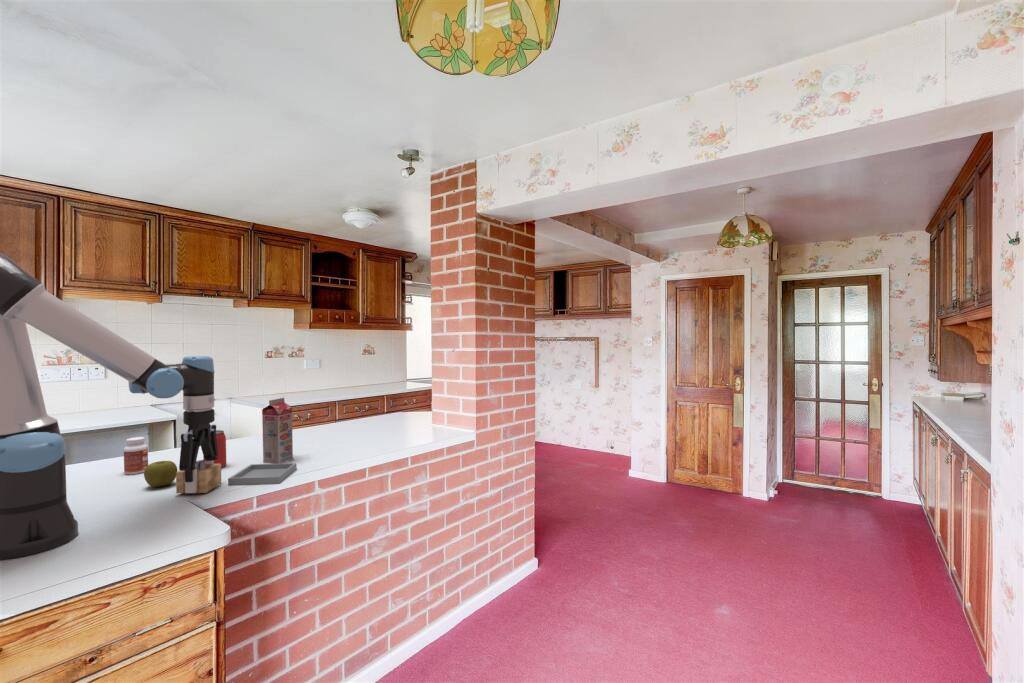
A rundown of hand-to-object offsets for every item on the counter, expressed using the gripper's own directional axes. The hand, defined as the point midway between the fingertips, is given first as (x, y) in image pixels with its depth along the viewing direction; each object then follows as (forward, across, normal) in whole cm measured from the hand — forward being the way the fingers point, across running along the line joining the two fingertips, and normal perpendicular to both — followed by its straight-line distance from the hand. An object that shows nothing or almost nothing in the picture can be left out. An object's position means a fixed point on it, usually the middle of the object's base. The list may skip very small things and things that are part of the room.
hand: (200, 487), depth 136 cm
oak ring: (0, 0, 0) cm, 0 cm away
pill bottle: (+1, +20, +31) cm, 37 cm away
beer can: (+1, +23, +8) cm, 24 cm away
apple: (+1, +5, +14) cm, 15 cm away
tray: (+1, +11, -13) cm, 17 cm away
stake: (+1, 0, 0) cm, 1 cm away
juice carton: (+1, +29, -10) cm, 31 cm away
